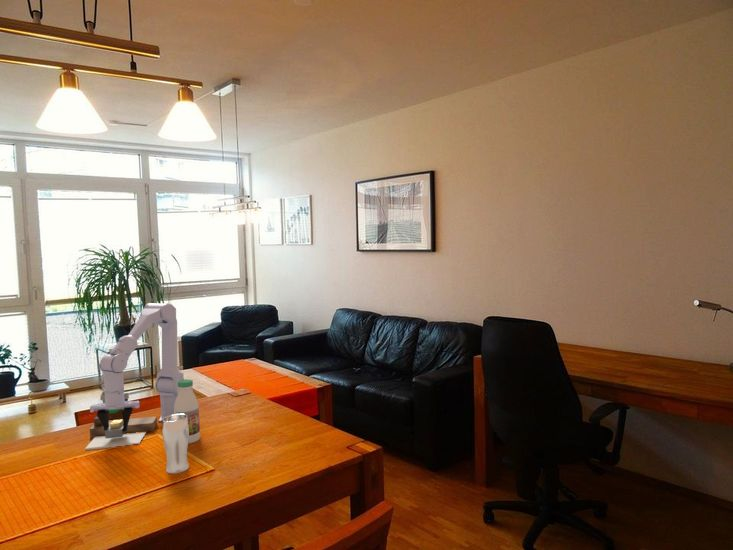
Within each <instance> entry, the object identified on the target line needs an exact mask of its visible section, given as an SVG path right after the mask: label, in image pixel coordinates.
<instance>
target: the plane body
mask: <svg viewBox="0 0 733 550" xmlns="http://www.w3.org/2000/svg"><path fill="white" fill-rule="evenodd" d="M111 422H112V421H109V426H110V423H111ZM156 425H157V426H158V416H156V415H155V416H148V417H138V418H137V417H135V418H129V422H128V430H127V431H126V432H125V434H127V433H136V432H146V433H147V432H148V431H152V432H154V431H155V429H156V428H157V426H156ZM153 430H154V431H153ZM148 433H149V432H148ZM99 436H105V430H104V427H103V425H102V423H101V421H100V420H99V418H98V417H97V416H95V417H94V418H93V425H92V426H91V427H90V428H89V438H90V437H92V438H95V437H99Z"/></svg>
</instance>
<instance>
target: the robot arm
mask: <svg viewBox="0 0 733 550" xmlns="http://www.w3.org/2000/svg"><path fill="white" fill-rule="evenodd" d="M140 311H141V315H140V317H139V318H138V320H137V322H136V323H135V324H134V326H133V327H132V329H131V330H130V332H129V333H128V334H127V335H123V336H121V337H120V338H118V342H116V344H115V345H114V346H113V348H112V349H111V350H110V352H108V354H105V355H103V356H102V358H101V359H100V362H99V363H98V368H99V370H100V371H101V373H102V376H103V386H104V387H103V388H104V389H103V390H104V391H105V403H103V402H102V403H97V404H96V403H95V404H91V405H90V406H89V413H95V412H97V413H96V417H98V418H99V420H100V421H101V423H102V425H103V427H104V430H106V429H107V428H108V427H109V410H116V409H124V410H123V411H122V415H123V429H124V431H126V430H127V428H128V422H129V419H131V415H132V413H133V410H134V409H139V408H140V401H139V400H128V401H125V399H124V394H125V382H124V381H125V380H124V370H126V368H127V366H128V361H129V358H130V356H131V355H132V354H133V352H134V351H135V350H136V348H137V347H138V344H139V343H138V340H139V339H140V338H141V337H142V336H143V334H144V333H145V332H146V331H147V330H148V329H149V327H150V326H151V325H154V324H156V325H158V326H159V327H160V328H161V370H159V371H158V373H156V379H155V383H154V388H155V390H156V392H157V393H158V395H159V396H160V418H159V419H158V422H159V421H160V422H163V418H164V417H166V416H169V415H173V414H174V405H175V401H176V399H177V396H178V393H179V389H178V381H180V380H185V378H184V373H183V372H182V371H181V369H179V368H178V320H177V308H176V307H175V306H174V305H173V304H171V303H169V302H168V303H153V302H148V303H146V304H145V306H144V307H143V308H142V310H140ZM104 391H103V392H104Z"/></svg>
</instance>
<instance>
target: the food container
mask: <svg viewBox="0 0 733 550" xmlns="http://www.w3.org/2000/svg"><path fill="white" fill-rule="evenodd" d="M124 399H125V401H129V399H130V396H129V393H128V392H124ZM99 400H100V401H102V403H105V391H102V392H101V394H100V399H99ZM123 410H124V409H116V410H109V420H118V419H123V415H122V411H123Z"/></svg>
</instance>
